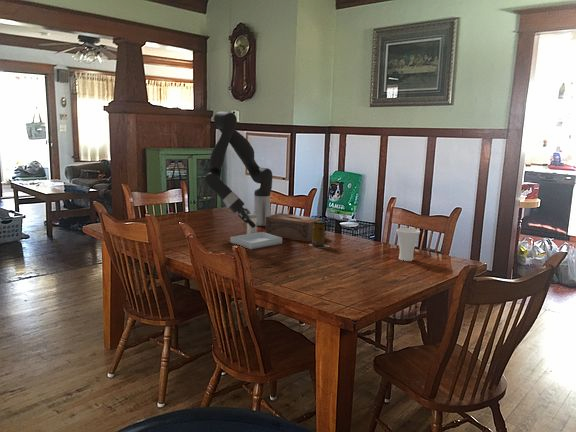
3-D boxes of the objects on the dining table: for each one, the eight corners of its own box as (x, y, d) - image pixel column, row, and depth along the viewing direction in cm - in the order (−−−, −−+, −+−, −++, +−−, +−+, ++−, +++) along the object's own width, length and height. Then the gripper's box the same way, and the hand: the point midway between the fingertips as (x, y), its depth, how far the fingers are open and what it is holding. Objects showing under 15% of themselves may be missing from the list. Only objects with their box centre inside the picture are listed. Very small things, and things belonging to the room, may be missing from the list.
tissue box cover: (320, 237, 265) (321, 218, 264) (308, 242, 253) (308, 222, 251) (279, 230, 278) (279, 213, 276) (265, 235, 265) (265, 216, 263)
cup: (401, 263, 219) (403, 233, 216) (390, 256, 229) (392, 228, 226) (422, 262, 221) (424, 232, 219) (410, 255, 231) (412, 227, 229)
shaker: (252, 233, 267) (252, 213, 265) (258, 234, 264) (258, 214, 262) (245, 234, 264) (245, 214, 262) (251, 236, 260) (251, 215, 258)
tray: (261, 237, 258) (261, 231, 257) (282, 243, 247) (282, 237, 246) (230, 242, 244) (230, 236, 244) (250, 249, 233) (250, 243, 233)
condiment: (318, 243, 250) (319, 219, 248) (330, 246, 244) (331, 222, 242) (307, 245, 246) (308, 221, 243) (319, 248, 239) (320, 224, 237)
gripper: (235, 199, 254) (258, 223, 255) (241, 195, 268) (262, 218, 269) (225, 209, 256) (247, 233, 256) (231, 204, 270) (253, 227, 270)
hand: (255, 225), depth 263 cm, fingers closed on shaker, 5 cm apart
